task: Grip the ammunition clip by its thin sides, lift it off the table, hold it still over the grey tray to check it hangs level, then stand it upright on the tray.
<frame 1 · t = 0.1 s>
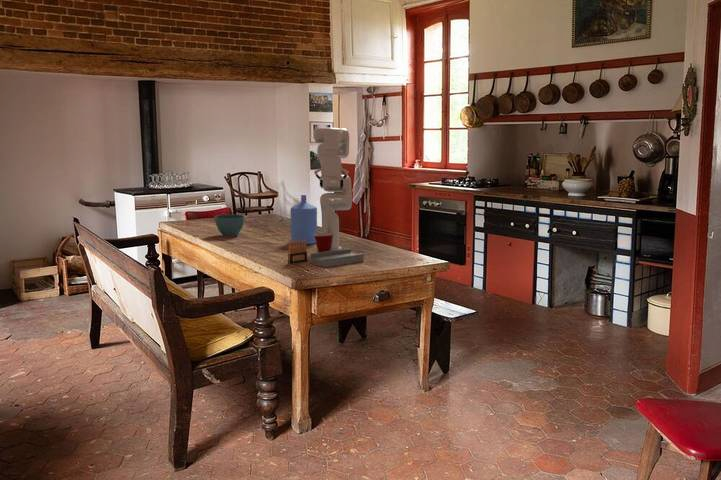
hand: (331, 188, 328), 37 cm above the table, tool pointing down, fingers open, 9 cm apart
grey tray: (337, 262, 331), on the table
water jug: (304, 242, 388), on the table
plant pot: (230, 236, 412), on the table
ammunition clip: (297, 262, 331), on the table
plastic cup: (323, 255, 349), on the table
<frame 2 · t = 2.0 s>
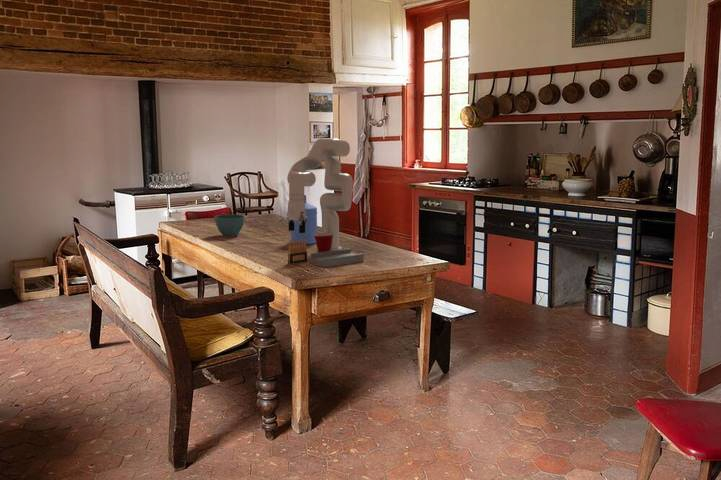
hand: (296, 231, 328), 16 cm above the table, tool pointing down, fingers open, 9 cm apart
nothing on the table moved.
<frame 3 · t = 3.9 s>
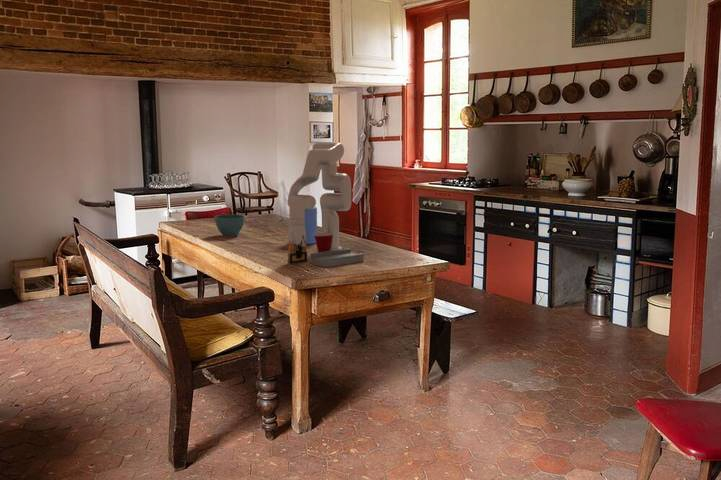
hand: (297, 257, 330), 3 cm above the table, tool pointing down, fingers closed on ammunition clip, 2 cm apart
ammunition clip: (297, 262, 331), on the table, touching gripper
everything else where it was.
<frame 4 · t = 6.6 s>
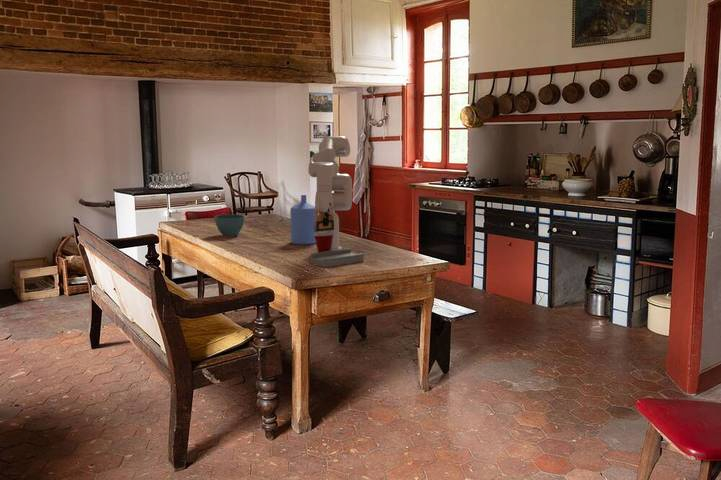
hand: (324, 225, 328), 19 cm above the table, tool pointing down, fingers closed on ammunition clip
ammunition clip: (324, 230, 329), point 16 cm above the table, touching gripper
everything else where it was.
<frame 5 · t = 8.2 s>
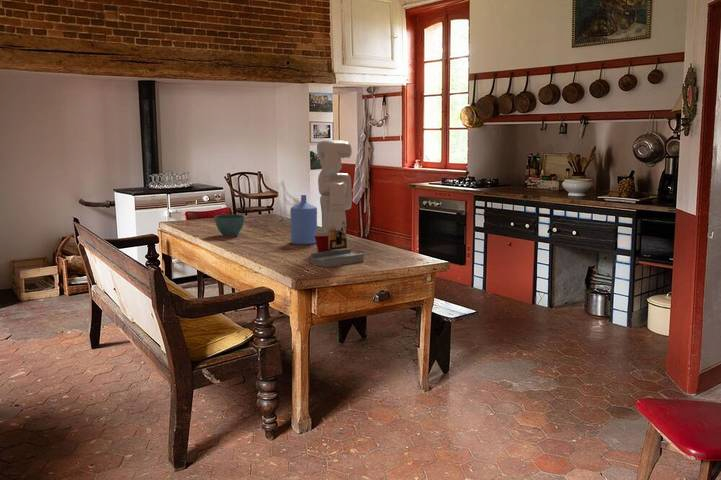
hand: (337, 243, 330), 10 cm above the table, tool pointing down, fingers closed on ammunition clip
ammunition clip: (337, 249, 330), point 7 cm above the table, touching gripper
everything else where it was.
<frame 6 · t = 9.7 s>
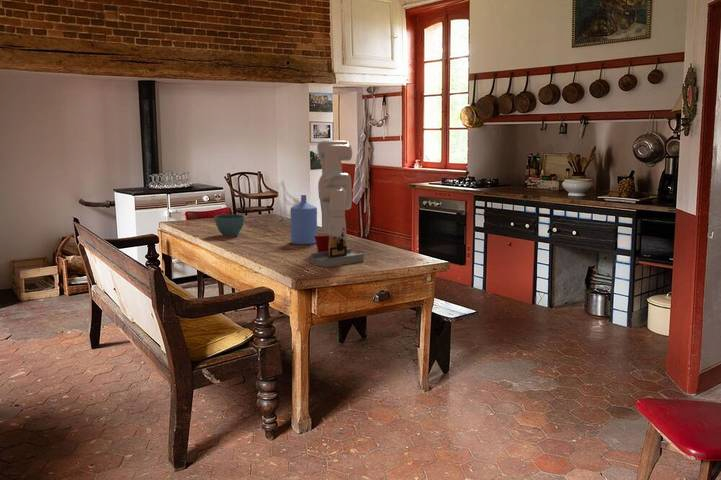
hand: (337, 249, 330), 7 cm above the table, tool pointing down, fingers open, 4 cm apart
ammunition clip: (337, 256, 331), point 3 cm above the table, touching grey tray
everything else where it was.
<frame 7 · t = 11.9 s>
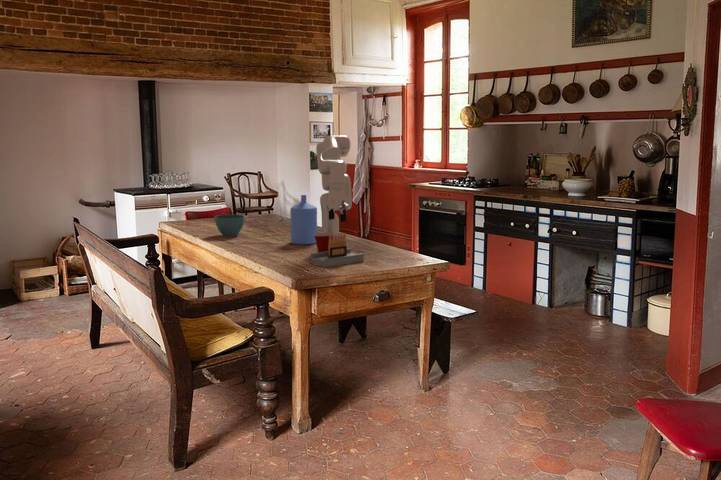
hand: (337, 220, 328), 21 cm above the table, tool pointing down, fingers open, 9 cm apart
nothing on the table moved.
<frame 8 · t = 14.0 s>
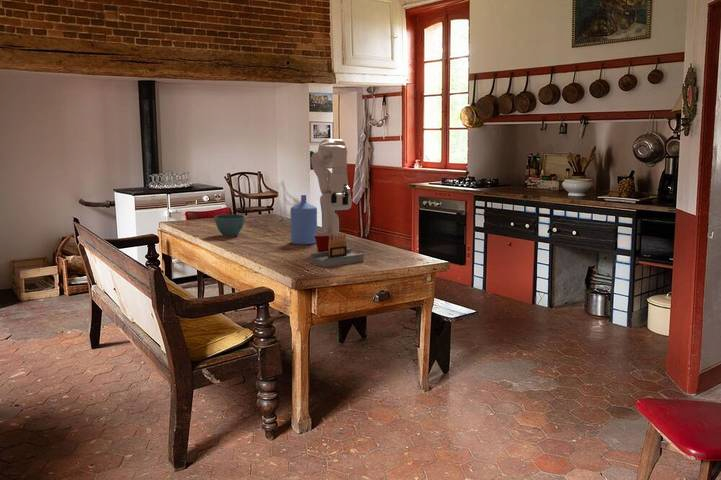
hand: (339, 203, 338), 28 cm above the table, tool pointing down, fingers open, 9 cm apart
nothing on the table moved.
at the end: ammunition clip inside the target area on the grey tray (0.2 cm from its centre), point 2.8 cm above the grey tray's base; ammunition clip tilted 0°; the gripper is holding nothing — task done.
